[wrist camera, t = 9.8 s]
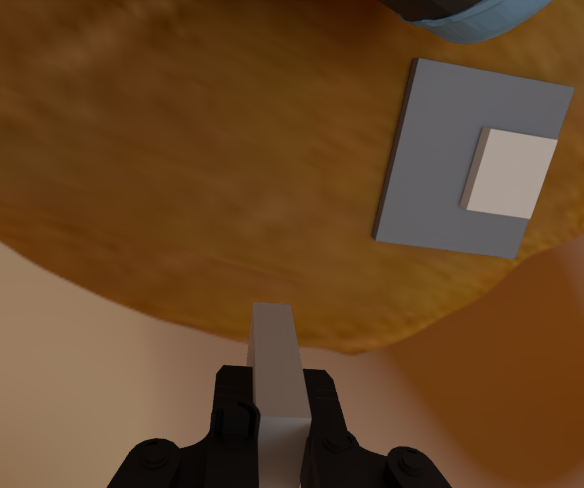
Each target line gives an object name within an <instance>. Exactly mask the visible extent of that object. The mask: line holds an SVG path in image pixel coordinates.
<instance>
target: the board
mask: <svg viewBox="0 0 584 488" xmlns="http://www.w3.org/2000/svg"><path fill="white" fill-rule="evenodd" d="M574 89H575V88H574V87H569V86H563V85H558V84H553V83H548V82H542V81H537V80H532V79H527V78H521V77H516V76H511V75H506V74H500V73H495V72H490V71H485V70H479V69H474V68H469V67H464V66H459V65H453V64H448V63H443V62H438V61H432V60H427V59H422V58H414V59H413V63H412V67H411V71H410V76H409V80H408V84H407V88H406V93H405V97H404V101H403V105H402V110H401V114H400V118H399V122H398V127H397V131H396V135H395V139H394V144H393V148H392V152H391V156H390V161H389V165H388V169H387V174H386V178H385V182H384V186H383V191H382V195H381V199H380V203H379V208H378V212H377V216H376V220H375V225H374V229H373V233H372V237H373V238H374V240H375V241H381V242H388V243H396V244H404V245H412V246H419V247H427V248H435V249H442V250H450V251H458V252H465V253H473V254H481V255H489V256H496V257H504V258H512V259H515V258H516V255H517V252H518V249H519V246H520V244H521V241H522V238H523V235H524V232H525V229H526V226H527V224H528V221H529V219H527V218H520V217H513V216H506V215H499V214H492V213H485V212H478V211H471V210H466V209H464V208H463V207H461V206H460V203H461V199H462V196H463V193H464V189H465V186H466V182H467V179H468V176H469V172H470V169H471V165H472V162H473V159H474V155H475V152H476V148H477V145H478V142H479V138H480V135H481V131H482V128H483V127H486V128H492V129H498V130H503V131H509V132H515V133H521V134H527V135H532V136H538V137H544V138H549V139H554V140H557V138H558V135H559V132H560V129H561V126H562V123H563V121H564V118H565V115H566V112H567V109H568V106H569V103H570V101H571V98H572V95H573V92H574Z"/></svg>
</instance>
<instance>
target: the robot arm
mask: <svg viewBox="0 0 584 488" xmlns="http://www.w3.org/2000/svg"><path fill="white" fill-rule="evenodd" d="M378 1H379V2H381V3H383V4H384V5H386V6H387V7H389V8H390V9H392V10H393V11H395V12H396V14H397V15H398V16H399V18H401V19H402V20H403V21H404V22H406V23H411V24H412V25H413V26H418V27H423V28H424V29H426V30H428V31H430V32H432V33H433V34H435V35H437V36H439V37H440V38H442V39H444V40H446V41H449V42H453V43H458V44H472V43H478V42H482V41H486V40H489V39H492V38H494V37H497V36H499V35H501V34H503V33H505V32H507V31H509V30H511V29H513V28H514V27H516V26H518V25H519V24H521V23H522V22H524V21H526V20H527V19H529V18H530V17H531V16H533V15H534V14H536V13H537V12H538V11H540V10H541V9H542V8H543V7H545V6H546V5H547V4H549V3H550V2H551V1H552V0H378ZM300 483H301V488H452V487H451V486H450V484H449V483H448V482H447V481H446V479H445V478H444V477H443V475H442V474H441V473H440V471H439V470H438V469H437V467H436V466H435V465H434V463H433V462H432V461H431V460H430V459H429V458H428V457H427V456H426V455H425V454H424V453H422V452H420V451H418V450H417V449H413V448H410V447H401V446H399V447H396V448H393V449H392V450H391V451H390V452H389V453H388V455H387V456H384V455H380V454H377V453H374V452H371V451H368V450H366V449H364V448H362V447H361V446H359V443H358V442H357V440H356V438H355V437H354V436H353V435H352V434H351V433H350V432H349V431H347V428H346V424H345V420H344V417H343V413H342V409H341V406H340V403H339V401H338V395H337V392H336V389H335V384H334V381H333V379H332V378H331V377H330V375H329V374H328V373H327V372H326V371H325V370H316V369H302V364H301V358H300V353H299V347H298V342H297V337H296V331H295V326H294V321H293V315H292V310H291V305H289V304H276V303H263V302H253V310H252V319H251V328H250V336H249V345H248V353H247V366H231V365H223V366H222V368H221V369H220V370H219V371H218V372H217V374H216V382H215V391H214V400H213V409H212V413H211V423H210V431H209V433H208V434H207V436H206V437H205V438H204V439H203V440H201V441H200V442H198V443H196V444H194V445H191V446H188V447H184V448H179V447H178V446H176V444H174V442H171V441H169V440H166V439H159V438H154V439H150V440H145V441H143V442H141V443H139V444H137V445H136V446H135V447H134V448H133V449H132V450H131V451H130V452H129V454H128V455H127V457H126V458H125V460H124V461H123V463H122V465H121V466H120V468H119V469H118V471H117V472H116V474H115V475H114V477H113V478H112V480H111V481H110V483H109V485H108V486H107V488H299V486H300Z"/></svg>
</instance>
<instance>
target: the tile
mask: <svg viewBox="0 0 584 488" xmlns="http://www.w3.org/2000/svg"><path fill="white" fill-rule="evenodd" d="M557 141H558V140H554V139H549V138H544V137H538V136H532V135H527V134H521V133H515V132H509V131H503V130H498V129H492V128H486V127H483V128H482V131H481V135H480V138H479V142H478V145H477V148H476V152H475V155H474V159H473V162H472V165H471V169H470V172H469V176H468V179H467V182H466V186H465V189H464V193H463V196H462V199H461V203H460V206H461V207H463V208H464V209H466V210H471V211H478V212H485V213H492V214H499V215H506V216H513V217H520V218H527V219H530V218H531V215H532V213H533V210H534V207H535V204H536V201H537V198H538V196H539V193H540V190H541V187H542V184H543V181H544V178H545V176H546V173H547V170H548V167H549V164H550V161H551V158H552V156H553V153H554V150H555V147H556V144H557Z"/></svg>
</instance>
